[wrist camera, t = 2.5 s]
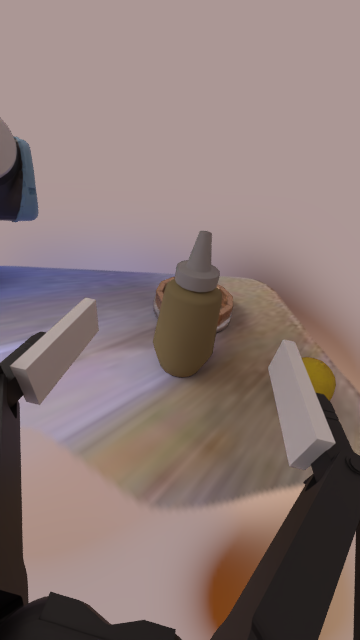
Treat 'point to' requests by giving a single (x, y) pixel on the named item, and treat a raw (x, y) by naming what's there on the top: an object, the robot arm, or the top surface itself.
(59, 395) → the top surface
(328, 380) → the lemon
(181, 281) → the squeeze bottle
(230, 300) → the flange seat
